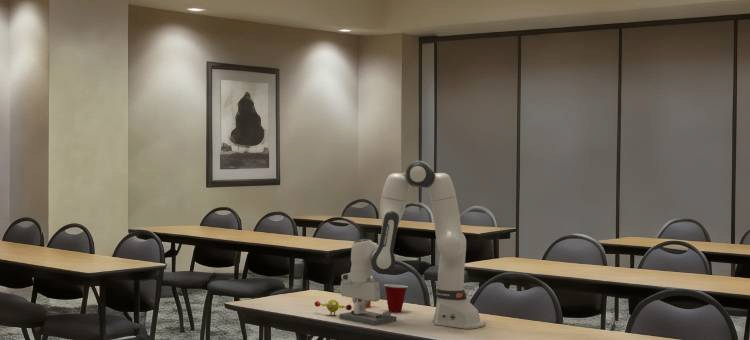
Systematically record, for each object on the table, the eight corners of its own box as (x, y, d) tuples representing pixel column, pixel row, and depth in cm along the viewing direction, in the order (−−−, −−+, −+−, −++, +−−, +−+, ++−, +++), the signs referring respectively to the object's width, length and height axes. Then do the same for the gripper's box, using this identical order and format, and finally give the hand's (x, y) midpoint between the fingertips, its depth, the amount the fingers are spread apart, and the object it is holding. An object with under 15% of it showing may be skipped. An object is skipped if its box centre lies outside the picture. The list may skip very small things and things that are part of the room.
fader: (365, 312, 405) (365, 300, 405) (357, 314, 402) (357, 302, 401) (361, 312, 407) (362, 300, 407) (354, 313, 403) (354, 301, 403)
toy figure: (311, 314, 412) (311, 298, 412) (317, 312, 417) (318, 297, 417) (347, 318, 404) (348, 302, 404) (353, 316, 409) (354, 301, 409)
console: (396, 321, 401) (396, 312, 401) (374, 325, 391) (374, 316, 390) (361, 314, 414) (361, 306, 414) (339, 318, 404) (339, 310, 404)
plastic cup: (411, 311, 427) (412, 284, 426) (399, 314, 418) (399, 287, 417) (391, 308, 433) (392, 282, 432) (378, 311, 424) (379, 284, 423)
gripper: (383, 279, 399) (383, 311, 400) (348, 273, 413) (347, 305, 413) (374, 280, 394) (373, 313, 395) (338, 274, 408) (337, 306, 408)
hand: (359, 309), depth 404 cm, fingers closed on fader, 2 cm apart
